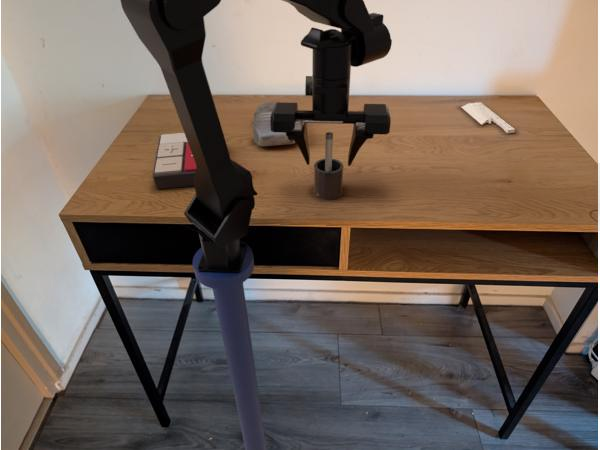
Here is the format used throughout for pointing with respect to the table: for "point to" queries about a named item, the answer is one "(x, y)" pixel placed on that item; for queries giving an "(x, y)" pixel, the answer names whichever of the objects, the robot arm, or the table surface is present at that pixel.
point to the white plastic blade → (486, 116)
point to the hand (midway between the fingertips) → (328, 164)
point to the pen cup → (328, 180)
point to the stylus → (328, 152)
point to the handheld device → (267, 128)
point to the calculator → (174, 162)
